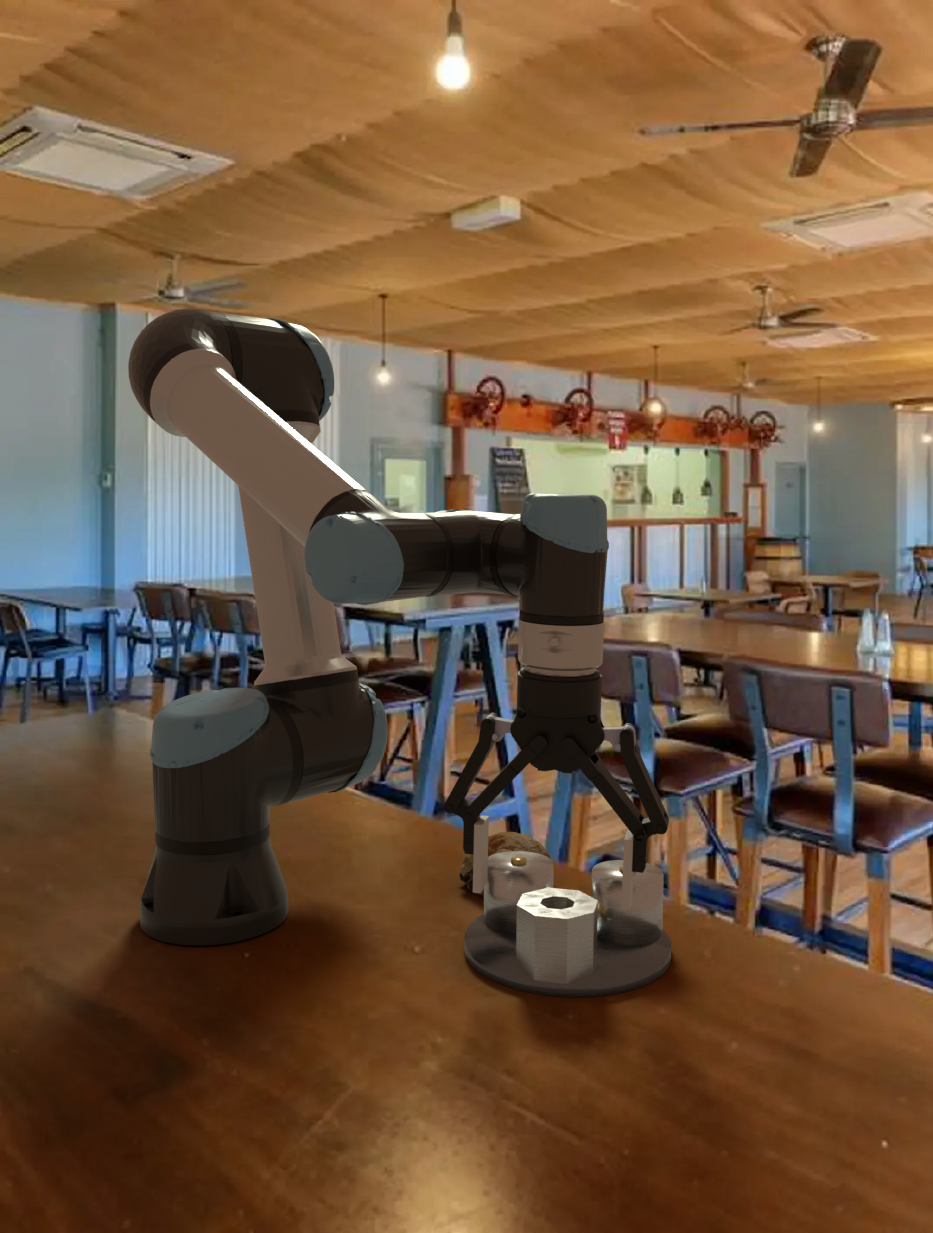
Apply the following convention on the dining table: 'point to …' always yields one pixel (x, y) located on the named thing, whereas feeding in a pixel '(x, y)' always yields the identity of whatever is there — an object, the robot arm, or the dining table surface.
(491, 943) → the carrier
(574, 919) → the octagonal metal nut
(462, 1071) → the dining table surface
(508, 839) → the bread roll
